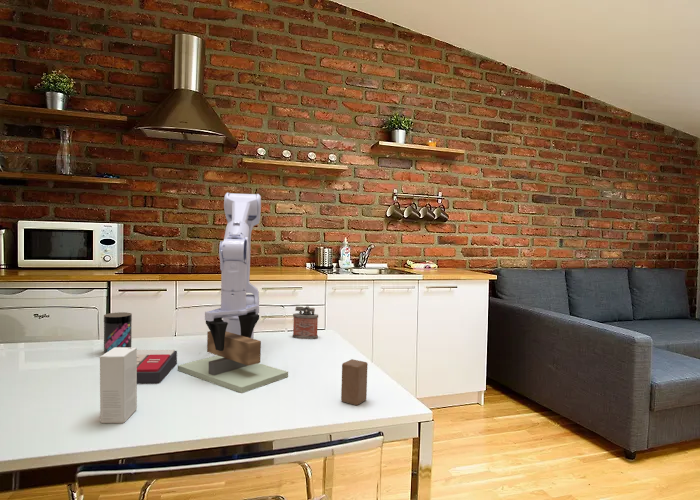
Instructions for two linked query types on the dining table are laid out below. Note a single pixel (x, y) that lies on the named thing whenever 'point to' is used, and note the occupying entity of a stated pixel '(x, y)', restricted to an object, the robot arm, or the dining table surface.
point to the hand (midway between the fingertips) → (232, 346)
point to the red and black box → (154, 365)
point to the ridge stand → (232, 373)
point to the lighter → (305, 323)
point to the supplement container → (117, 330)
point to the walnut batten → (237, 348)
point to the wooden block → (354, 382)
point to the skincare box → (118, 384)
